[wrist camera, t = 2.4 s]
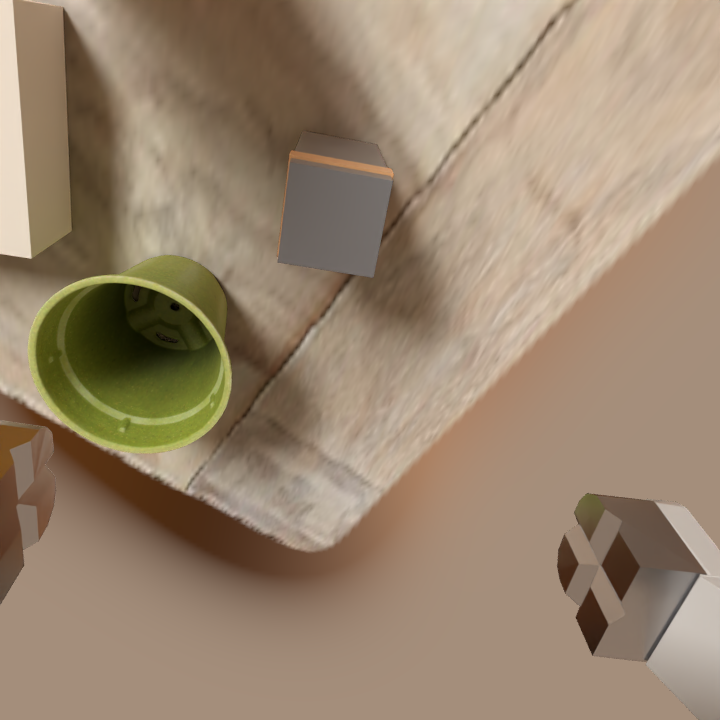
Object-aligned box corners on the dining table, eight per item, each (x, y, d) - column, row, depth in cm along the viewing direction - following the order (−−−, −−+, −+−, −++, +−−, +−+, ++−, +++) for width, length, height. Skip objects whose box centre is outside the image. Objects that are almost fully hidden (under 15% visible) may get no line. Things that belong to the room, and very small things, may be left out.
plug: (379, 142, 32) (396, 178, 23) (364, 219, 34) (375, 280, 25) (301, 128, 31) (287, 159, 22) (291, 207, 33) (274, 264, 24)
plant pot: (83, 346, 37) (16, 424, 29) (109, 201, 33) (39, 247, 25) (231, 389, 38) (205, 474, 31) (273, 256, 34) (255, 316, 27)
